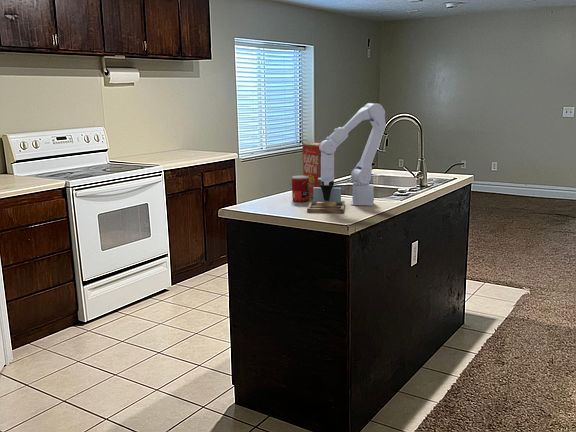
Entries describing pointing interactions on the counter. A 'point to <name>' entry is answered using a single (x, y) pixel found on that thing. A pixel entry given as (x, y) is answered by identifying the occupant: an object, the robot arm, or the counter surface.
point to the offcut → (326, 203)
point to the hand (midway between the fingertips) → (327, 199)
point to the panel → (334, 195)
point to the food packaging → (312, 165)
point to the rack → (326, 208)
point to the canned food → (300, 188)
